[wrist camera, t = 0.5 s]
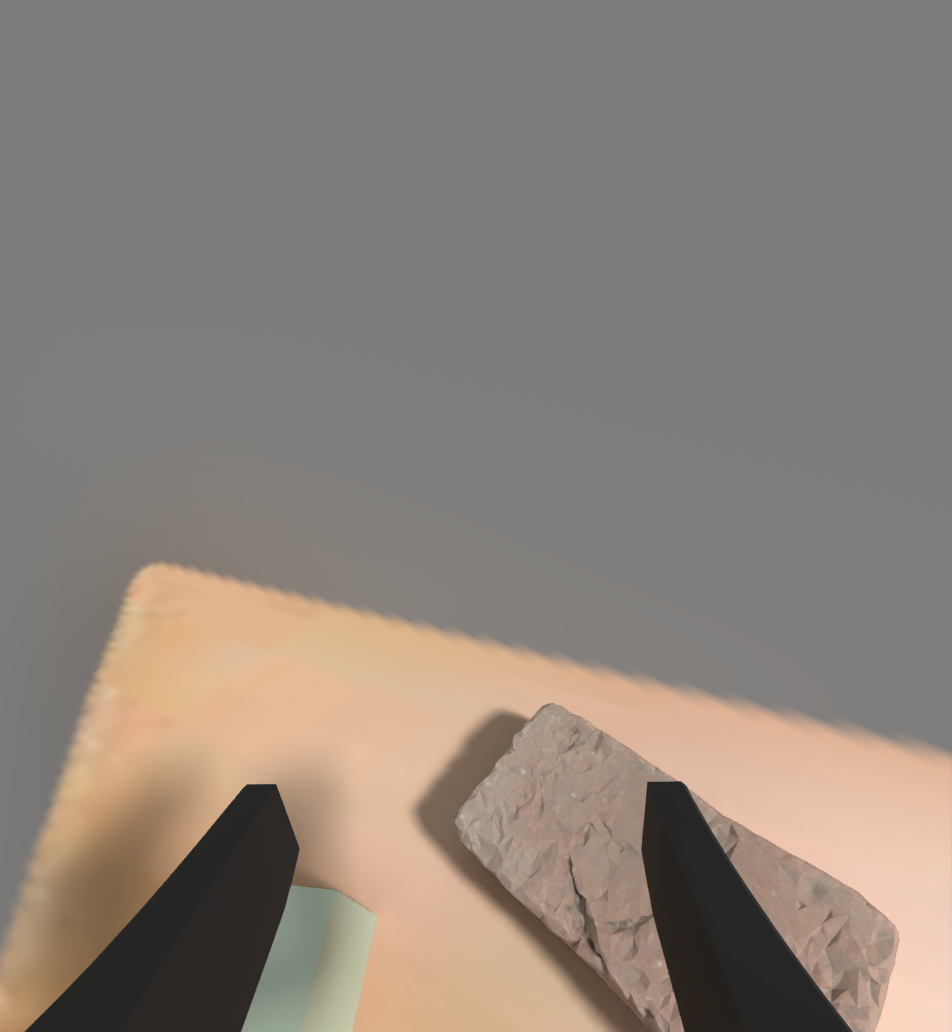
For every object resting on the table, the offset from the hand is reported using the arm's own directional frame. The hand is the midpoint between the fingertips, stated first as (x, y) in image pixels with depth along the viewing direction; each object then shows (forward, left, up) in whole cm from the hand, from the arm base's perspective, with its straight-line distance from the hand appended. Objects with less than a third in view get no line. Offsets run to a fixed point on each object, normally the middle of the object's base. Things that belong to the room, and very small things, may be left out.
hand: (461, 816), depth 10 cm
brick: (+3, -3, -20) cm, 21 cm away
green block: (-2, +12, -20) cm, 23 cm away
